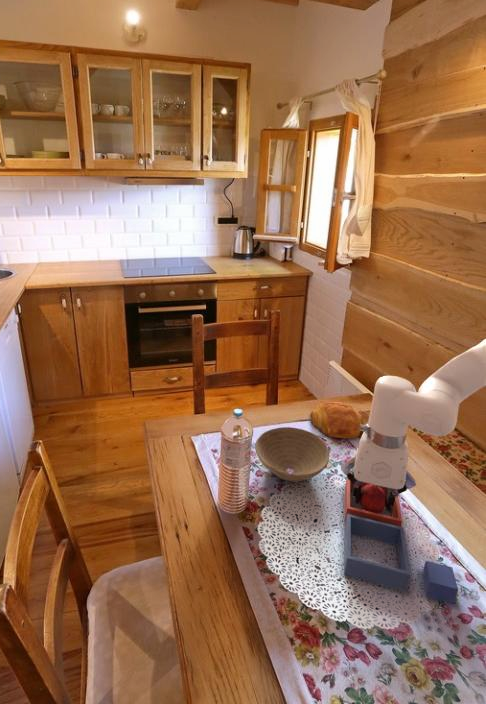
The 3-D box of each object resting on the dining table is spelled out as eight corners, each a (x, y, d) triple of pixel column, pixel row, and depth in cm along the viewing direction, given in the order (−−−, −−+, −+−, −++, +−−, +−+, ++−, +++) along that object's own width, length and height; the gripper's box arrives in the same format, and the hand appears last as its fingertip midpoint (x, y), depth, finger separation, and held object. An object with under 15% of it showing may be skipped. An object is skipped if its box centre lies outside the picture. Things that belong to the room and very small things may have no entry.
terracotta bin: (392, 502, 95) (396, 485, 93) (398, 540, 85) (402, 521, 84) (344, 491, 98) (347, 474, 96) (343, 526, 88) (347, 508, 86)
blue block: (446, 584, 76) (452, 567, 75) (452, 607, 72) (458, 589, 71) (420, 577, 77) (425, 560, 76) (424, 599, 73) (430, 581, 72)
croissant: (309, 417, 131) (308, 395, 129) (359, 417, 129) (359, 394, 126) (313, 444, 118) (312, 420, 115) (369, 444, 115) (369, 419, 113)
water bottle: (232, 490, 97) (237, 398, 89) (253, 506, 93) (261, 411, 84) (211, 504, 93) (214, 410, 84) (233, 522, 88) (239, 424, 80)
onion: (387, 523, 89) (394, 493, 86) (361, 522, 89) (367, 492, 86) (378, 502, 94) (384, 474, 91) (353, 501, 94) (358, 473, 91)
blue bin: (398, 546, 84) (403, 527, 82) (405, 595, 74) (411, 575, 72) (343, 532, 87) (347, 513, 85) (343, 577, 77) (347, 557, 75)
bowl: (238, 473, 103) (239, 446, 100) (279, 441, 116) (282, 417, 113) (301, 513, 91) (304, 485, 88) (339, 473, 104) (343, 447, 101)
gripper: (342, 436, 83) (331, 505, 89) (434, 454, 79) (416, 525, 85) (343, 416, 90) (332, 482, 96) (427, 432, 86) (411, 499, 92)
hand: (372, 501), depth 90 cm, fingers closed on onion, 5 cm apart
